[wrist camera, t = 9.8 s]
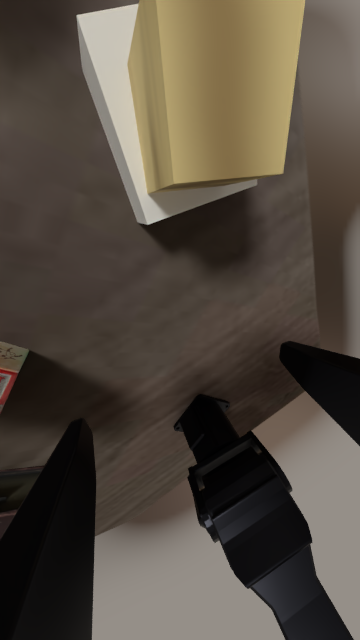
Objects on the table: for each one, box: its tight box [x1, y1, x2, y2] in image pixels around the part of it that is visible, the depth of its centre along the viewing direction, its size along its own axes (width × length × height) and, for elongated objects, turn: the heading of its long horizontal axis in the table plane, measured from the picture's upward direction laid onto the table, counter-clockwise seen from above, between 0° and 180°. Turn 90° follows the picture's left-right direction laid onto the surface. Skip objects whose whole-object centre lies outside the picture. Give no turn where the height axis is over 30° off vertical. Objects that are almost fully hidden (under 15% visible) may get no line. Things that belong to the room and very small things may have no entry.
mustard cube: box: [127, 0, 305, 194], centre depth 9 cm, size 5×5×5 cm
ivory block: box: [76, 4, 257, 225], centre depth 12 cm, size 8×8×4 cm
